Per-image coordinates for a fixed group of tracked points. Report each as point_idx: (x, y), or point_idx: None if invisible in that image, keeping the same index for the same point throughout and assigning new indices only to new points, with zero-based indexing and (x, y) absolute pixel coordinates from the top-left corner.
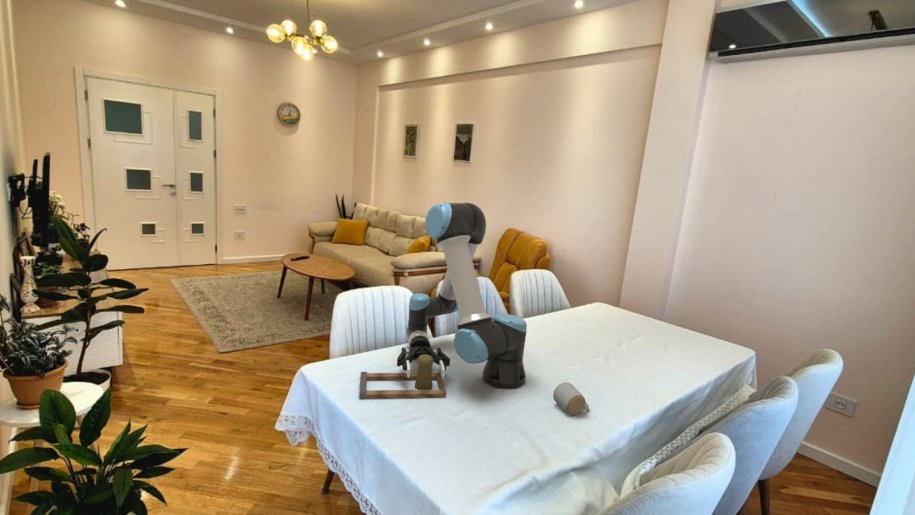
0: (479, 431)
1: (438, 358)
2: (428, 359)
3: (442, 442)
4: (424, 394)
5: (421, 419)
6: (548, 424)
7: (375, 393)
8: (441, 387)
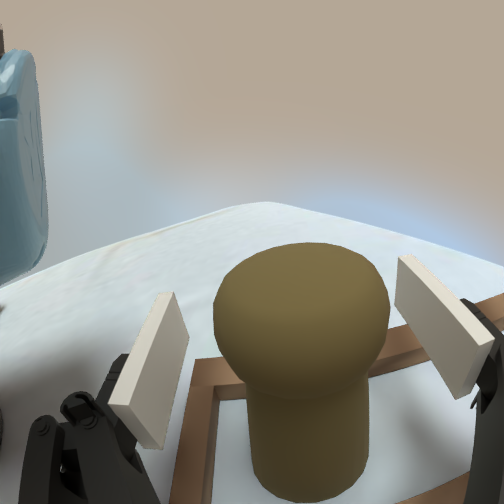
0: (170, 269)
1: (120, 464)
2: (267, 249)
3: (258, 243)
4: None
5: None
6: (42, 294)
7: (489, 303)
8: (203, 401)
